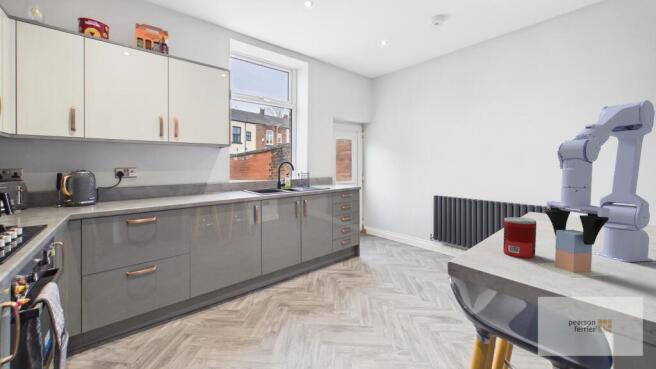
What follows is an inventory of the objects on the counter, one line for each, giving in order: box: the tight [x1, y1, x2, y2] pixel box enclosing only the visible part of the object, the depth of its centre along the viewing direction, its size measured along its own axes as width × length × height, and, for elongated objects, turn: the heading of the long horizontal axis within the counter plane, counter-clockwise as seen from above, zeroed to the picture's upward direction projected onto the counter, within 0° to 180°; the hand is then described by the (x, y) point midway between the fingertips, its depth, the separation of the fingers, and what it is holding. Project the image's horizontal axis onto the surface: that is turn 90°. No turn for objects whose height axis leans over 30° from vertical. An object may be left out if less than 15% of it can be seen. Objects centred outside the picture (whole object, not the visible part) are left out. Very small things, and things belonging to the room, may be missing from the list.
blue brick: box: [555, 229, 593, 254], centre depth 74 cm, size 5×5×5 cm
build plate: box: [536, 262, 612, 278], centre depth 74 cm, size 11×10×1 cm
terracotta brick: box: [554, 248, 593, 273], centre depth 74 cm, size 5×5×5 cm
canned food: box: [502, 216, 537, 259], centre depth 86 cm, size 8×8×11 cm
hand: (573, 240), depth 74 cm, fingers open, 7 cm apart
